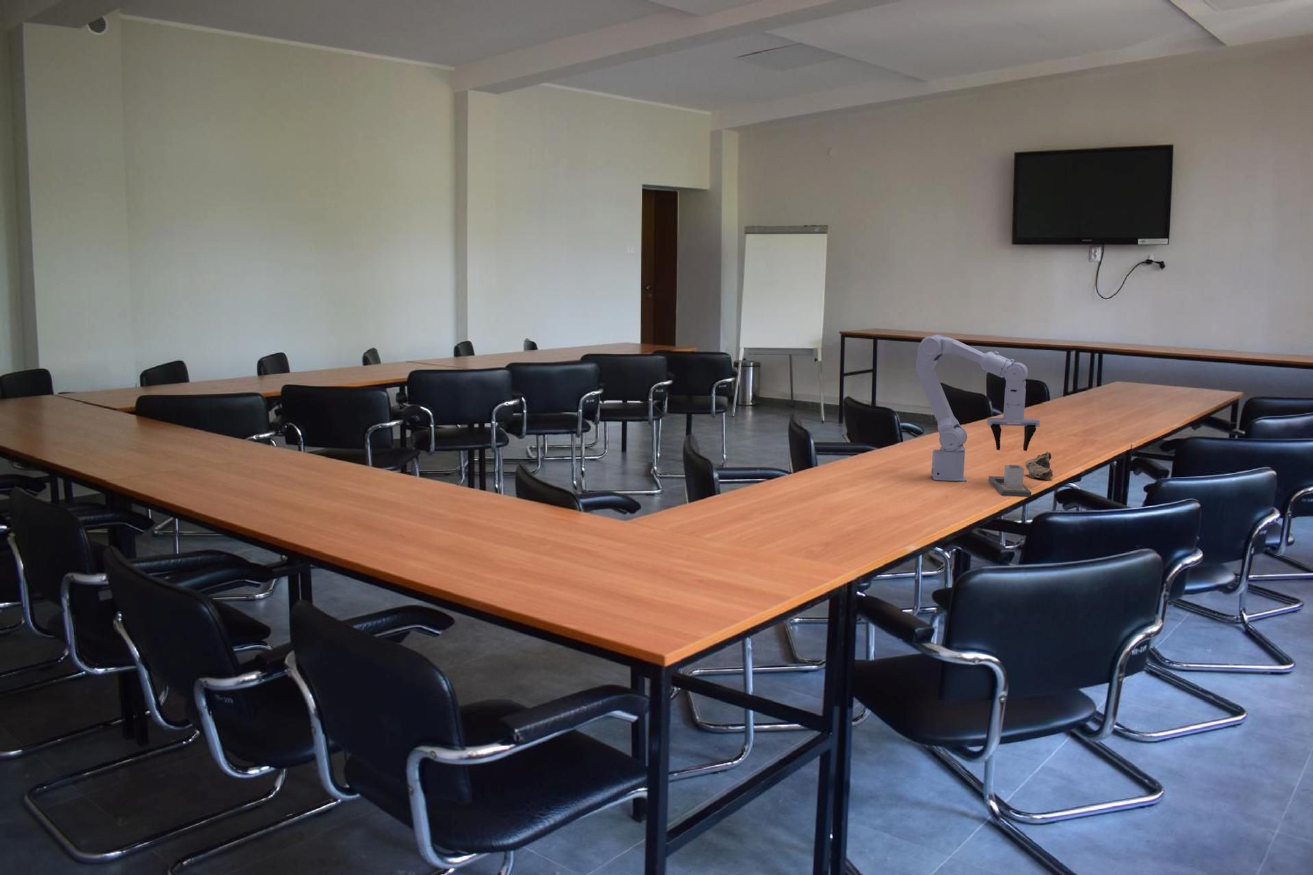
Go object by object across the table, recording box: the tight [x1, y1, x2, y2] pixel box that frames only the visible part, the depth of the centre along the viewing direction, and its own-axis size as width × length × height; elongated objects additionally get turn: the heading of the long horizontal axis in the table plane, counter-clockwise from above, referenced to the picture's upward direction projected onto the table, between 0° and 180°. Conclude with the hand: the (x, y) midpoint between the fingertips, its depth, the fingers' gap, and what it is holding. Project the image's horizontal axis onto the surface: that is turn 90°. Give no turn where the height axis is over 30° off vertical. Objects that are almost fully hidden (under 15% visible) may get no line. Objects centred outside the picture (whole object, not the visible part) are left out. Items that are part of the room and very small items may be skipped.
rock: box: [1025, 451, 1054, 481], centre depth 318 cm, size 9×7×10 cm
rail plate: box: [988, 475, 1032, 498], centre depth 302 cm, size 8×22×1 cm, turn 172°
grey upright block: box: [1003, 464, 1025, 490], centre depth 296 cm, size 4×4×6 cm
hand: (1011, 450), depth 305 cm, fingers open, 7 cm apart
